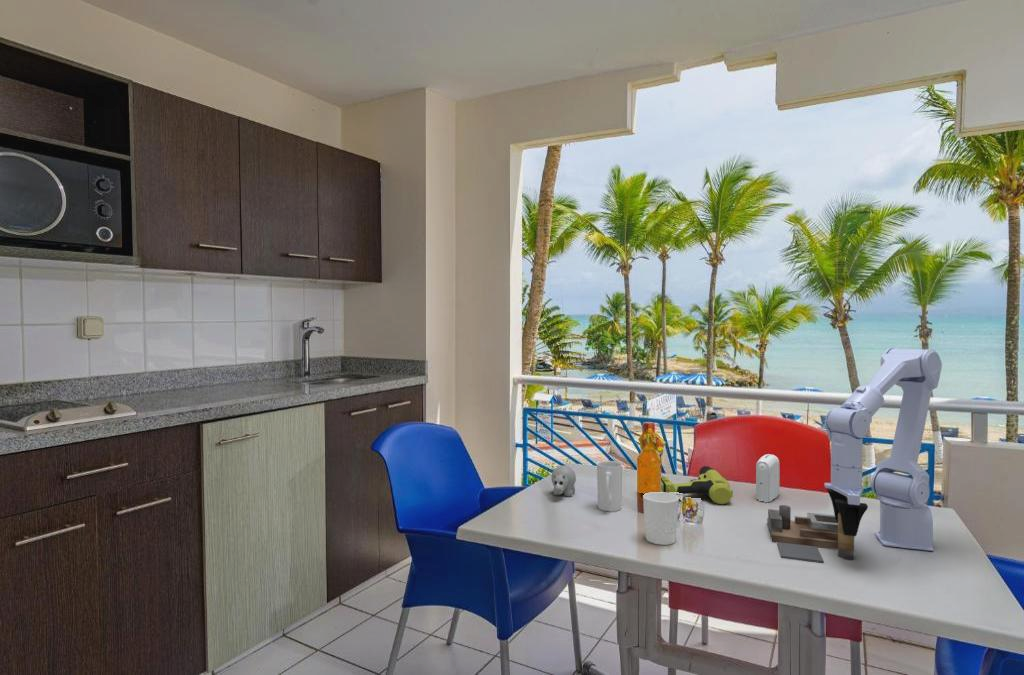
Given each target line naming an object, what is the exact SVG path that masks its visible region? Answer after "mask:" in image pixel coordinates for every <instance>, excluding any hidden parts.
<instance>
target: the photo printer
mask: <svg viewBox="0 0 1024 675" xmlns="http://www.w3.org/2000/svg"><path fill="white" fill-rule="evenodd" d="M779 495H780V460H779V458H778V457H777V456H776V455H774V454H770V453H768V454H764V455H763V456H761V457H760V458H759V459H758V460H757V462H756V465H755V499H756V500H757V499H758V500H760V501H766V502H767V503H770V502H772V501H774V500H775V499H776V498H777V497H779ZM773 499H774V500H773ZM758 500H757V501H758ZM760 501H759V502H760Z"/></svg>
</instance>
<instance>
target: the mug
mask: <svg viewBox="0 0 1024 675" xmlns="http://www.w3.org/2000/svg"><path fill="white" fill-rule="evenodd" d="M596 480H597V481H596V482H597V485H596V486H597V508H598V510H601V511H604V512H618V511H620V510H621V509H622V500H623V499H622V497H623V496H622V494H623V464H622V463H621V462H619V461H614V460H603V461H598V462H597V463H596Z"/></svg>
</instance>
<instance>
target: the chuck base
mask: <svg viewBox="0 0 1024 675" xmlns="http://www.w3.org/2000/svg"><path fill="white" fill-rule="evenodd" d="M778 506H779V507H778V509H772V508H771V509H767V514H768V515H767V519H766V520H767V521H766V522H767V523H766V524H767V529H768V532H769V536H770V539H771V542H773V543H777V542H781V543H790V544H798V545H807V546H816V547H817V548H825V549H832V550H833V549H834V550H838V532H829V531H820V530H810V529H809V528H808V526H807V516H806V517H804V516H797V515H796V516H794V520H791V515H792V514H791V510H792V509H791V506H789V505H786V504H780V505H778Z"/></svg>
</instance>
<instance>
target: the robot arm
mask: <svg viewBox="0 0 1024 675" xmlns="http://www.w3.org/2000/svg"><path fill="white" fill-rule="evenodd" d="M942 367H943V364H942V360H941V357H940V355H939V353H938V352H937V351H936V349H933V348H926V349H921V348H920V349H919V348H918V349H917V348H916V349H915V348H894V347H889V348H887V349H886V350H885V351H884V352H883V354H882V355H881V356H880V367H879V369H877V371H876V373H875V374H874V375H873V377H872V379H871V380H870V381H869V383H868V384H866V385H865V384H864V385H860V386H857V387H856V388H855V390H854V391H853V392H852V393H851V394H850V396H849V397H848V398H847V399H846V400H845V401H844V402H843V403H842V404H841V406H839V407H834V408H832V409H830V410H828V412H827V414H826V417H825V420H824V428H825V429H826V431H827V436H828V437H827V438H828V441H829V442H830V482H824V487H825V489H826V492H827V493H828V495H829V497H830V499H831V503H832V508H833V515H835V518H836V522H837V523H838V513H840V516H841V522H842V528H843V532H844V534H845V535H849V536H854V537H856V536H857V535H858V534H857V533H858V532H859V527H860V524H861V521H862V518H863V515H864V514H865V513H866V511H867V510H868V508H869V507H868V504H867V503H865V502H863V503H862V502H861V495H862V493H863V492H864V487H863V444H864V443H863V440H864V439H863V438H864V437H865V436H867V435H868V433H869V430H870V425H871V424H872V421H873V416H875V414H876V413H877V412H878V411H879V410H880V408H881V407H882V406H883V405H884V403H885V398H884V395H885V394H886V393H887V392H889V390H890V389H892V388H893V387H894V386H895V385H896V386H897V387H900V388H901V390H902V392H903V394H902V398H901V402H900V406H899V412H898V417H897V422H896V426H895V431H894V438H893V441H892V446H891V451H890V456H889V457H888V458H885V459H883V460H881V461H879V462H878V463H877V465H876V469H875V471H874V473H873V474H872V476H871V480H870V488H871V491H872V493H873V495H875V496H876V500H877V501H879V531H874V532H873V533H874V535H875V536H876V538H877V539H878V540H879V542H880V543H881V544H882V546H885V547H893V548H903V549H910V550H911V549H912V550H918V551H919V550H921V551H929V552H930V551H931V552H934V551H935V550H934V544H933V543H934V539H933V538H934V520H933V513H932V510H931V508H930V507H929V506H927V505H925V504H926V503H927V502H928V501H929V497H930V491H931V490H930V475H929V474H928V472H927V471H926V470H925V469H924V468H923V467H922V466H921V465H920V464H919V463H918V462H919V461H918V460H919V456H920V453H921V446H922V441H923V438H924V437H923V436H924V432H925V427H926V421H927V417H928V413H929V407H930V402H931V398H932V397H931V396H932V392H933V390H935V389H937V388H938V386H939V382H940V377H941V373H942ZM905 474H906V475H905ZM910 475H911V476H910Z"/></svg>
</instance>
